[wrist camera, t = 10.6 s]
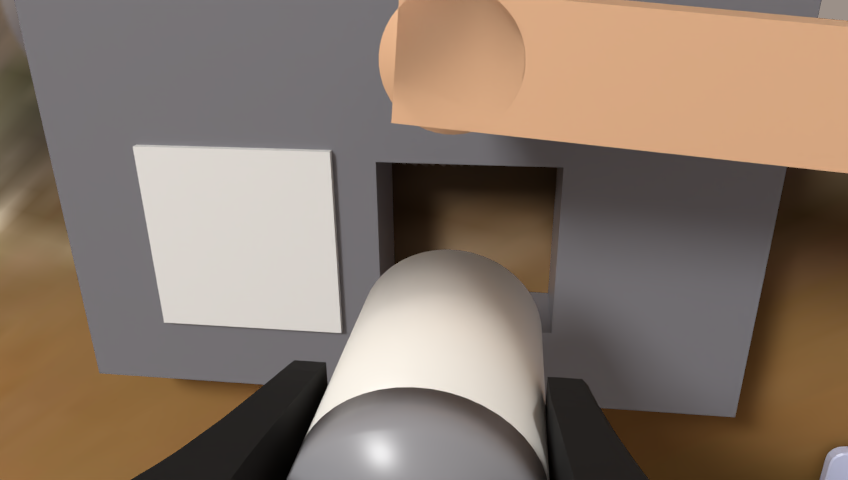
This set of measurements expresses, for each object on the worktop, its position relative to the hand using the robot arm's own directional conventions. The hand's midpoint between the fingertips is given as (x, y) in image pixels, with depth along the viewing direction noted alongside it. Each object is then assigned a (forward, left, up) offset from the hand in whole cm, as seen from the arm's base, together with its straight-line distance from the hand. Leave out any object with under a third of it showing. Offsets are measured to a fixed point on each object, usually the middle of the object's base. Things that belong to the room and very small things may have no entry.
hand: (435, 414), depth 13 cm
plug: (0, 0, -3) cm, 3 cm away
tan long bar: (-5, -6, -4) cm, 8 cm away
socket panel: (+2, -2, -10) cm, 10 cm away
